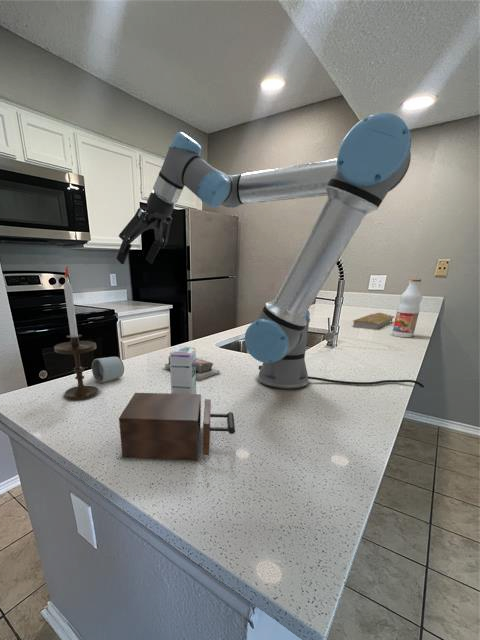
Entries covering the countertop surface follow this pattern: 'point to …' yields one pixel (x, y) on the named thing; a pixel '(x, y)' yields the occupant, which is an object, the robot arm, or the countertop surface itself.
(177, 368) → the syrup box
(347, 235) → the robot arm
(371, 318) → the brown flat block
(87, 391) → the candlestick
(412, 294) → the fruit juice
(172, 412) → the cabinet
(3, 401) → the countertop surface
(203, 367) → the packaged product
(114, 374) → the light blue cylinder
